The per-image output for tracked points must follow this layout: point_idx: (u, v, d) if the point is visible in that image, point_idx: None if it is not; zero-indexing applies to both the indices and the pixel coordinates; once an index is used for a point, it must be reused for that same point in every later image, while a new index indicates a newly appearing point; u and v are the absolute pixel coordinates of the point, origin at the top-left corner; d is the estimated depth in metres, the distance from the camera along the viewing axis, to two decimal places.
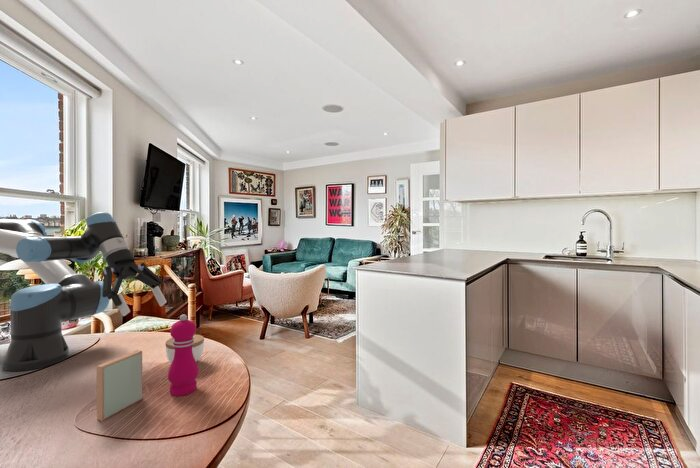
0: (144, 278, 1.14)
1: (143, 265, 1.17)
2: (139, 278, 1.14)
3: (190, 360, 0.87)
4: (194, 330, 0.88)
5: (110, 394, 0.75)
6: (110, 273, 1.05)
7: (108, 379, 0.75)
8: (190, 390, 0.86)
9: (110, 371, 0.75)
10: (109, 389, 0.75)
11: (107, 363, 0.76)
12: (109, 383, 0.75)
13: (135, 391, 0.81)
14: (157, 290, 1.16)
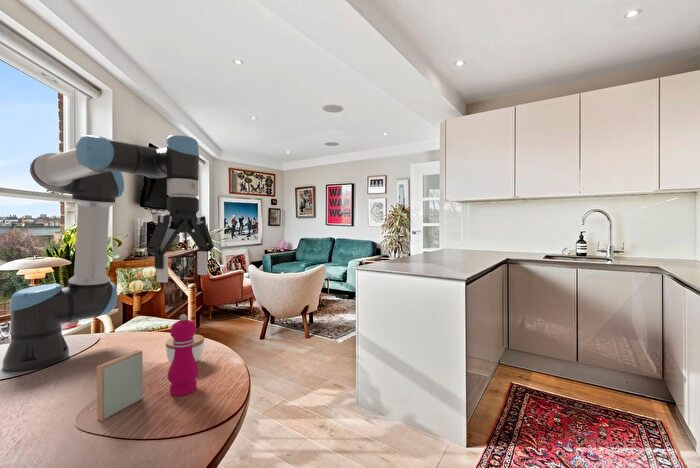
0: (197, 237, 0.92)
1: (203, 220, 0.93)
2: (192, 234, 0.91)
3: (190, 360, 0.87)
4: (194, 330, 0.88)
5: (110, 394, 0.75)
6: (166, 224, 0.81)
7: (108, 379, 0.75)
8: (190, 390, 0.86)
9: (110, 371, 0.75)
10: (109, 389, 0.75)
11: (107, 363, 0.76)
12: (109, 383, 0.75)
13: (135, 391, 0.81)
14: (203, 256, 0.94)
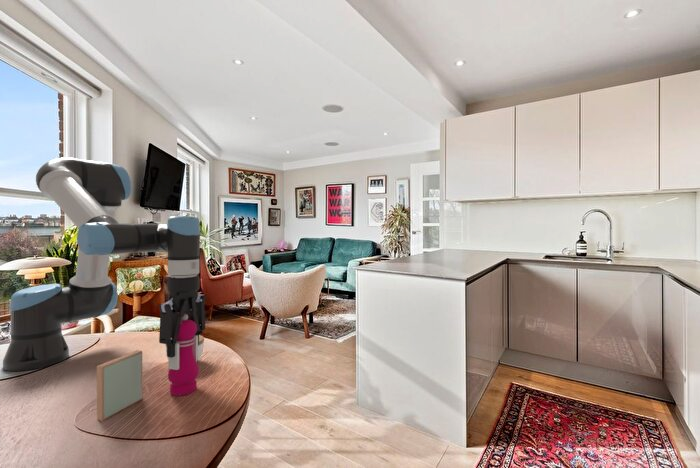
0: (192, 317, 0.90)
1: (202, 298, 0.93)
2: (188, 313, 0.90)
3: (191, 360, 0.87)
4: (195, 330, 0.88)
5: (110, 394, 0.75)
6: (170, 313, 0.82)
7: (108, 379, 0.75)
8: (190, 390, 0.86)
9: (110, 371, 0.75)
10: (109, 389, 0.75)
11: (107, 363, 0.76)
12: (109, 383, 0.75)
13: (135, 391, 0.81)
14: None
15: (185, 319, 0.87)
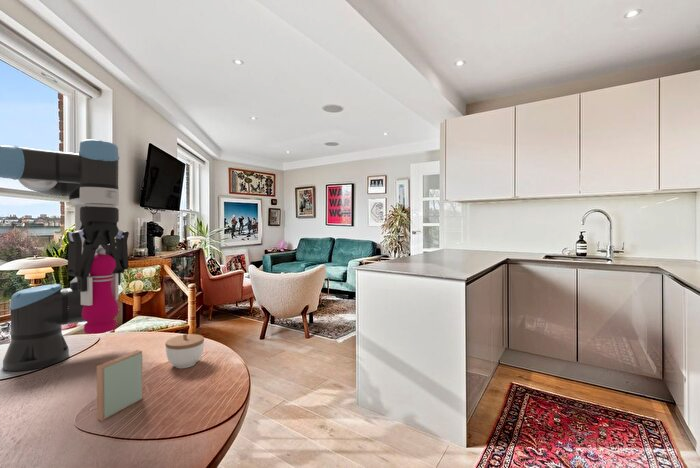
0: (111, 253, 0.83)
1: (124, 235, 0.86)
2: (106, 249, 0.83)
3: (108, 297, 0.81)
4: (113, 265, 0.81)
5: (110, 394, 0.75)
6: (79, 243, 0.76)
7: (108, 379, 0.75)
8: (106, 329, 0.80)
9: (110, 371, 0.75)
10: (109, 389, 0.75)
11: (107, 363, 0.76)
12: (109, 383, 0.75)
13: (135, 391, 0.81)
14: (114, 279, 0.84)
15: (101, 253, 0.81)
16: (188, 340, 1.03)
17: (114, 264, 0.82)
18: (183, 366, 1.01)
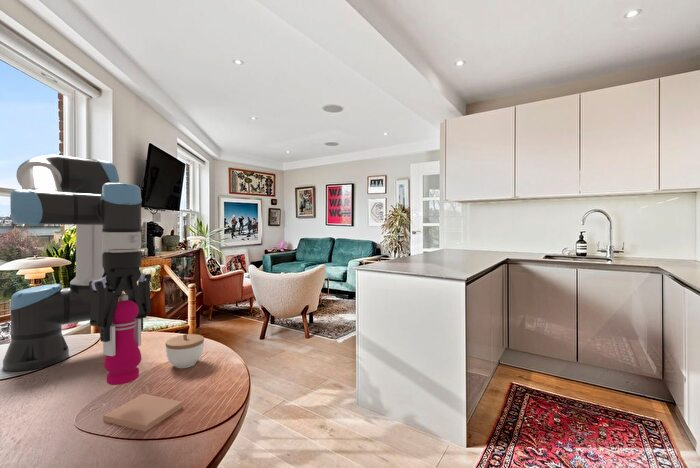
0: (133, 298, 0.80)
1: (147, 278, 0.83)
2: (128, 294, 0.80)
3: (131, 345, 0.78)
4: (135, 312, 0.78)
5: None
6: (102, 292, 0.72)
7: None
8: (129, 379, 0.77)
9: None
10: None
11: (152, 424, 0.72)
12: None
13: None
14: (136, 325, 0.81)
15: (124, 299, 0.78)
16: (188, 340, 1.03)
17: (137, 310, 0.79)
18: (183, 366, 1.01)
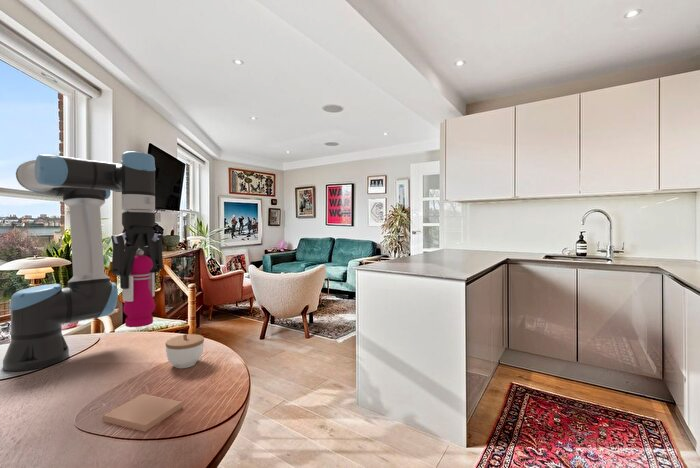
0: (148, 254, 0.91)
1: (159, 237, 0.94)
2: (144, 250, 0.91)
3: (146, 294, 0.89)
4: (150, 265, 0.90)
5: None
6: (122, 245, 0.84)
7: None
8: (145, 323, 0.88)
9: None
10: None
11: (152, 424, 0.72)
12: None
13: None
14: (150, 278, 0.92)
15: (140, 254, 0.89)
16: (188, 340, 1.03)
17: (151, 264, 0.90)
18: (183, 366, 1.01)
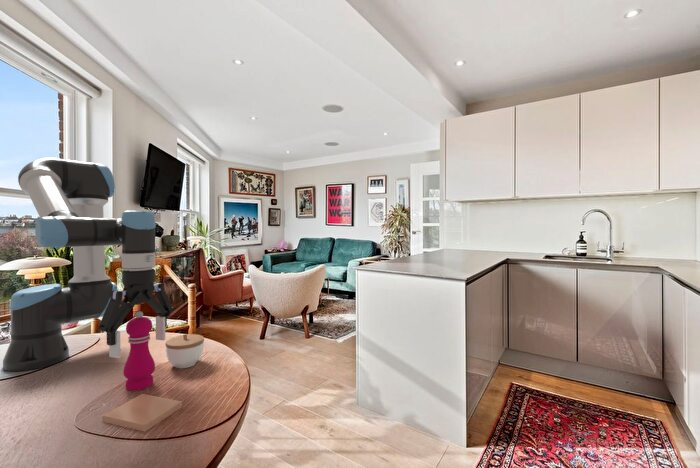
0: (154, 305, 0.94)
1: (161, 287, 0.95)
2: (149, 302, 0.93)
3: (146, 356, 0.90)
4: (150, 327, 0.90)
5: None
6: (119, 301, 0.83)
7: None
8: (145, 385, 0.89)
9: None
10: None
11: (152, 424, 0.72)
12: None
13: None
14: (161, 322, 0.96)
15: (140, 316, 0.89)
16: (188, 340, 1.03)
17: (151, 325, 0.91)
18: (183, 366, 1.01)
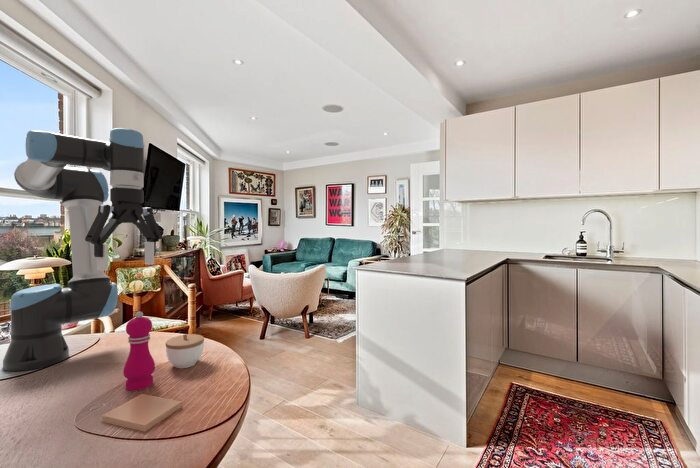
0: (143, 228, 0.94)
1: (149, 211, 0.96)
2: (137, 225, 0.94)
3: (146, 356, 0.89)
4: (150, 327, 0.90)
5: None
6: (106, 214, 0.84)
7: None
8: (145, 385, 0.89)
9: None
10: None
11: (152, 424, 0.72)
12: None
13: None
14: (150, 247, 0.97)
15: (139, 316, 0.89)
16: (188, 340, 1.03)
17: (151, 325, 0.90)
18: (183, 366, 1.01)
